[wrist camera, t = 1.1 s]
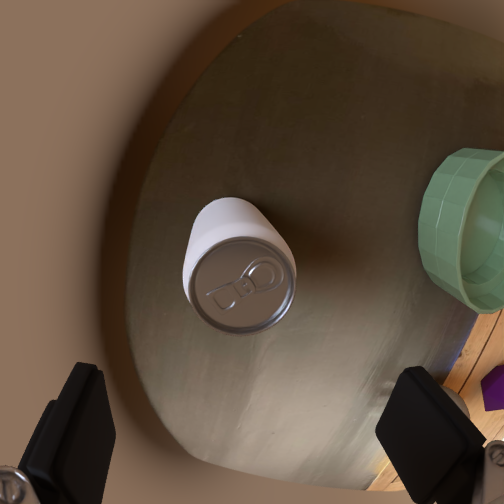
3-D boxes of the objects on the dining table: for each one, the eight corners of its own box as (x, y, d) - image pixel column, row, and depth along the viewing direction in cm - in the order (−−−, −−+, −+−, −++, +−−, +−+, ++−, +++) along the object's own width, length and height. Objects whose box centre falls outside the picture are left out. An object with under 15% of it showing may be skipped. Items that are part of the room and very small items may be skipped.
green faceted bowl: (410, 149, 27) (456, 152, 21) (507, 147, 28) (547, 153, 22) (411, 304, 33) (447, 334, 26) (502, 272, 34) (536, 291, 27)
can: (279, 244, 28) (323, 304, 17) (218, 281, 29) (224, 361, 17) (242, 182, 26) (266, 202, 15) (177, 222, 27) (154, 272, 15)
